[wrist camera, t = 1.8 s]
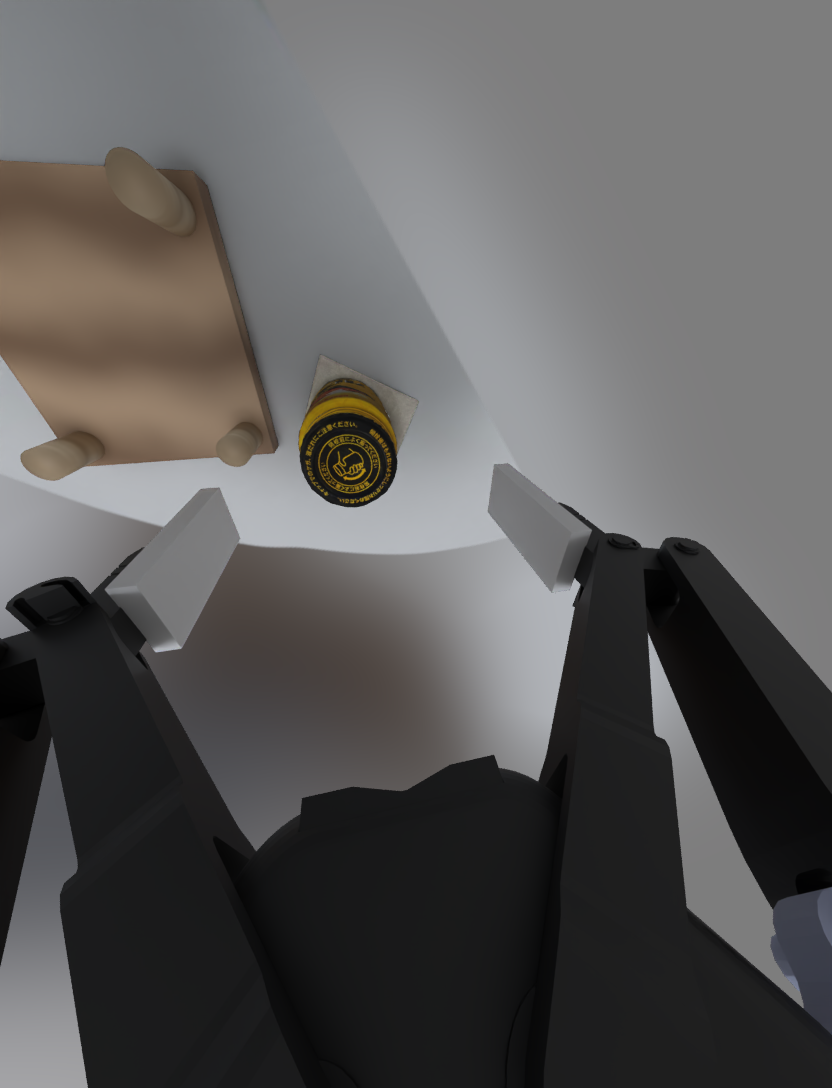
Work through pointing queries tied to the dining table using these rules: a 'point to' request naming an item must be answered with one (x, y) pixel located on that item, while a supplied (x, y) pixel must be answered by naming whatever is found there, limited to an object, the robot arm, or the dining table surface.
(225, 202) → the dining table surface
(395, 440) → the condiment
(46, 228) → the peg holder
